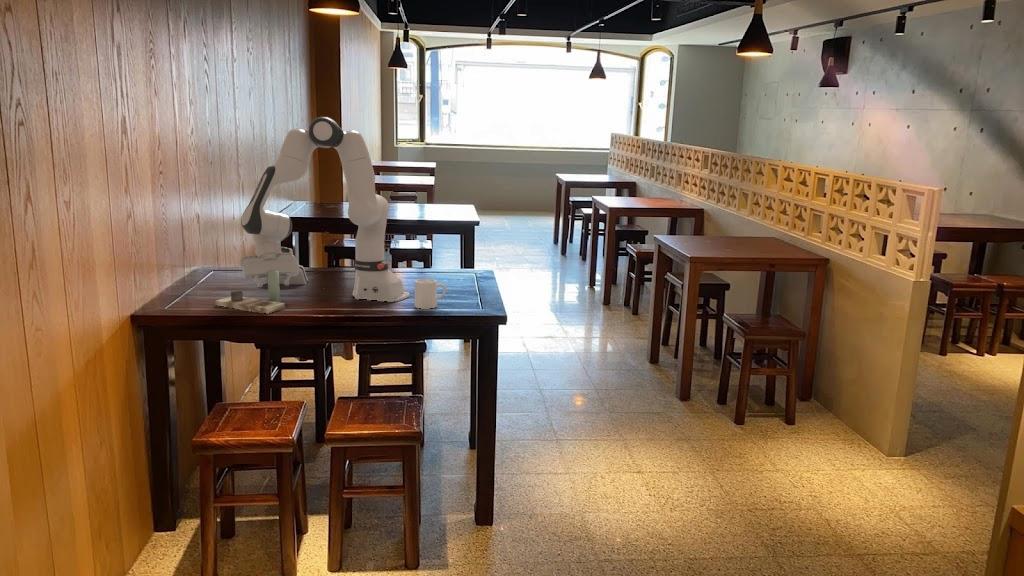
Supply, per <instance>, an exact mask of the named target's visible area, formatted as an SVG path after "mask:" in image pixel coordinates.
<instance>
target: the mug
mask: <svg viewBox="0 0 1024 576" xmlns="http://www.w3.org/2000/svg"><path fill="white" fill-rule="evenodd" d="M438 287H440V288H443V292H442V294H440V295H438ZM447 290H448V288H447V287H446V285H445V284H444V283H438V281H437V279H434V278H418V279H416V280H414V306H415V307H414V308H417V309H419V308H421V309H420V310H431V309H430V308H433V309H436V308H437V307H436V306H438V300H439V299H442V298H444V297H445V295H446V293H447ZM435 307H436V308H435Z"/></svg>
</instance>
